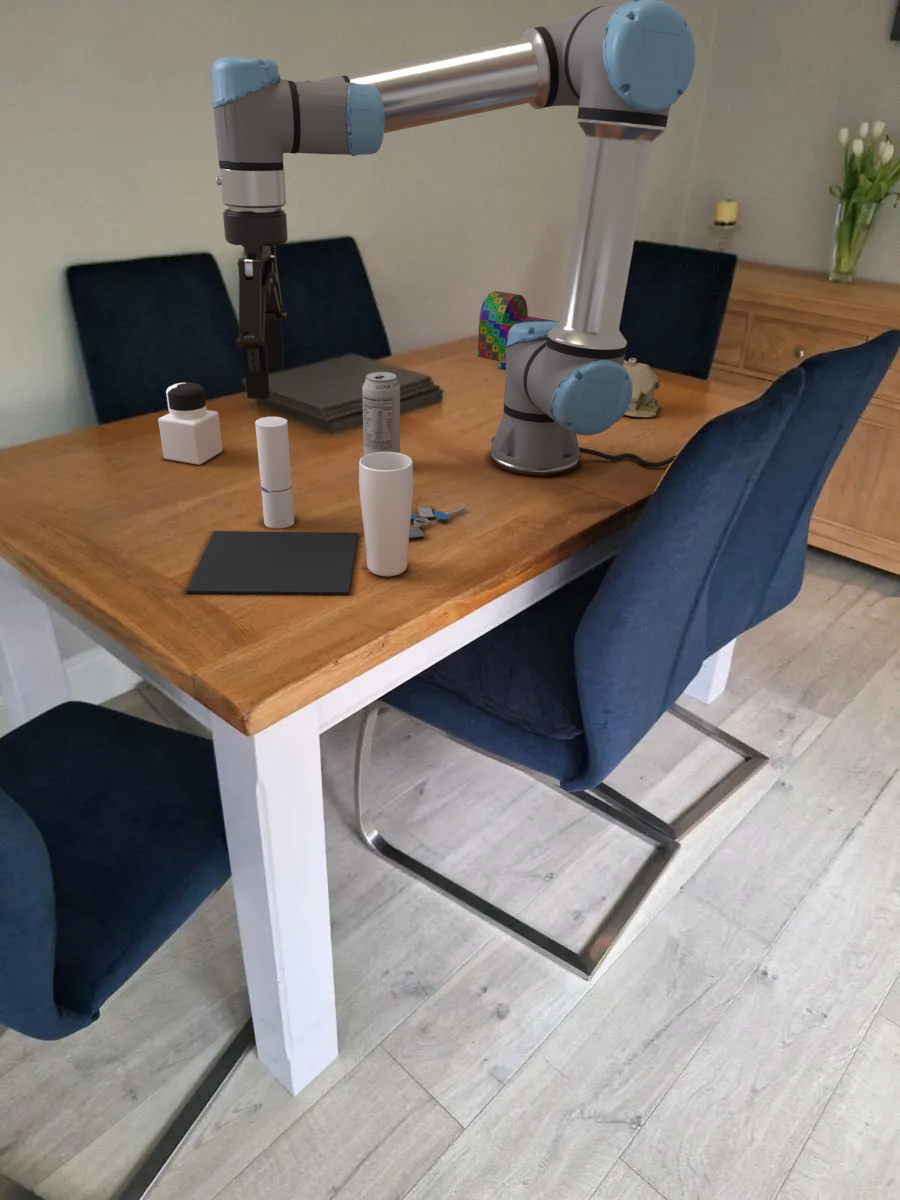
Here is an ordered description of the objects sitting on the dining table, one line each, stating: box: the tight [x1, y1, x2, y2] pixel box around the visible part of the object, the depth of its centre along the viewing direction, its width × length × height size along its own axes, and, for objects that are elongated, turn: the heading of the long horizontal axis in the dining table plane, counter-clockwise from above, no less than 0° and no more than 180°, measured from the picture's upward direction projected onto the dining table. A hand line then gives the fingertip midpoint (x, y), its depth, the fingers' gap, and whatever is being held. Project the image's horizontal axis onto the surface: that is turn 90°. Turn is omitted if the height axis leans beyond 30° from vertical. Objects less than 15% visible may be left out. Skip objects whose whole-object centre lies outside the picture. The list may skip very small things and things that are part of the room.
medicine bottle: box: [157, 382, 223, 466], centre depth 145 cm, size 7×7×12 cm
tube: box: [254, 416, 295, 529], centre depth 123 cm, size 4×4×15 cm
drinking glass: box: [358, 452, 414, 577], centre depth 111 cm, size 7×7×15 cm
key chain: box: [409, 505, 467, 539], centre depth 128 cm, size 14×8×1 cm, turn 148°
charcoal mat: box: [185, 530, 358, 596], centre depth 116 cm, size 20×17×1 cm
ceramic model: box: [623, 357, 661, 418], centre depth 175 cm, size 14×11×10 cm
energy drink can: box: [361, 371, 401, 456], centre depth 143 cm, size 6×6×15 cm
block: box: [477, 290, 560, 370], centre depth 202 cm, size 25×17×14 cm
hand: (266, 382), depth 116 cm, fingers open, 13 cm apart
